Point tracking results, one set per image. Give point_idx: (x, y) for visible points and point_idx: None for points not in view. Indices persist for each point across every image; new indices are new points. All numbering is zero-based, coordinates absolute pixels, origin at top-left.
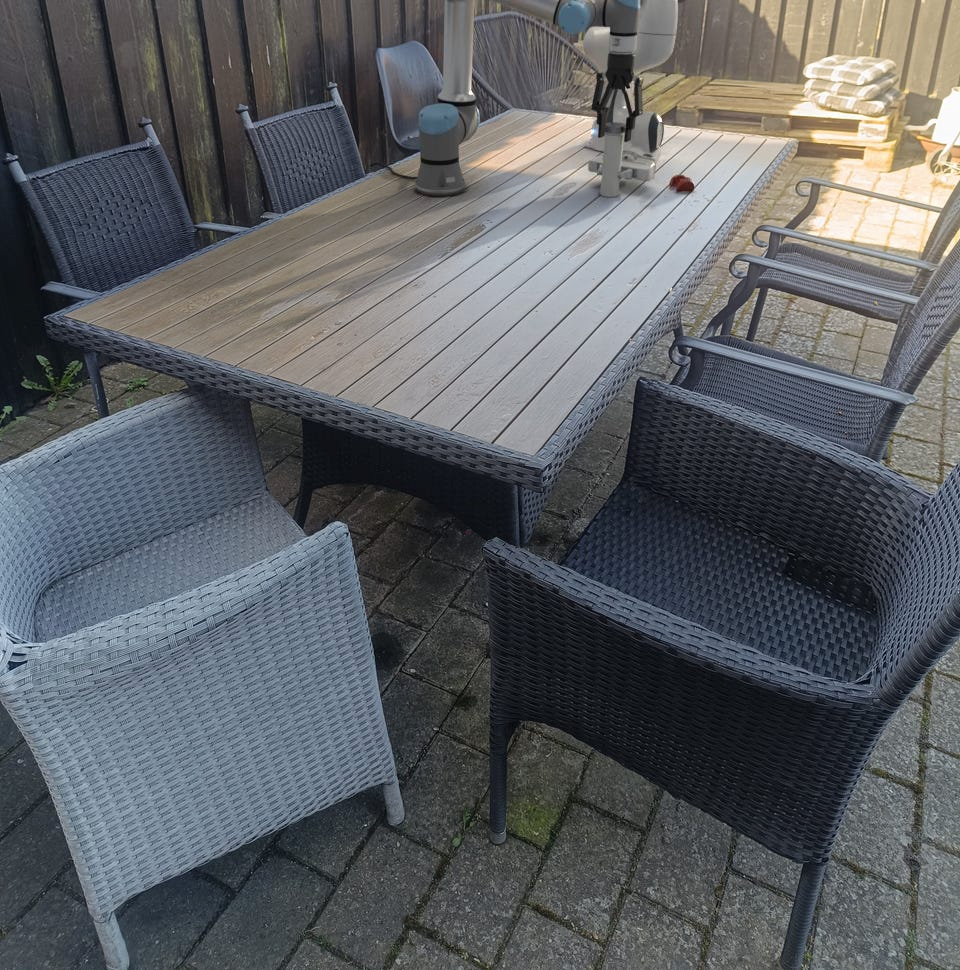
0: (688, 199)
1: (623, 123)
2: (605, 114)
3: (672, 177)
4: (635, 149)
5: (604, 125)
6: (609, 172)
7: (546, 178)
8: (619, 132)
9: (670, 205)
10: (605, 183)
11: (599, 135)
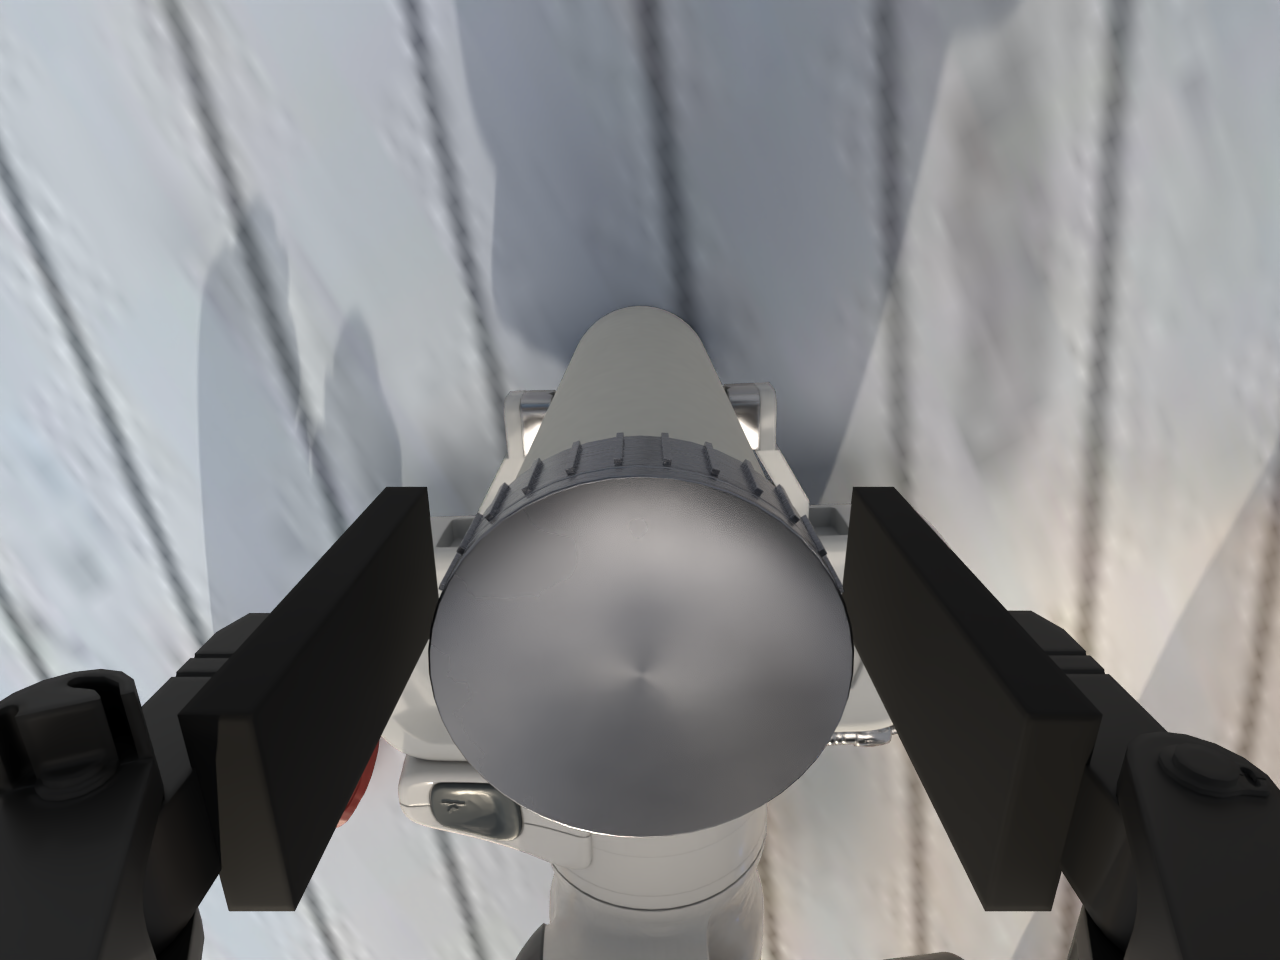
0: (144, 580)
1: (561, 823)
2: (974, 844)
3: (363, 784)
4: (617, 853)
5: (891, 684)
6: (614, 338)
7: (1231, 458)
8: (481, 515)
9: (145, 393)
10: (646, 318)
11: (877, 498)
